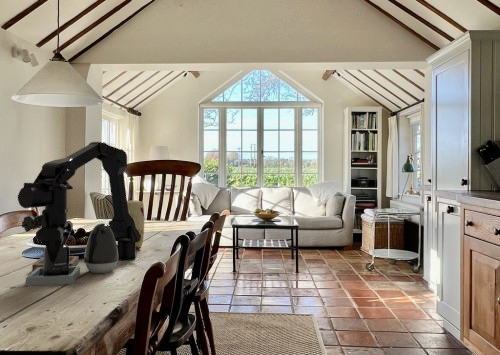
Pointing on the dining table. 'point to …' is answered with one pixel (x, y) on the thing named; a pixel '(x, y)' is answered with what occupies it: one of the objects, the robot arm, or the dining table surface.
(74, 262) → the walnut collar
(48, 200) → the robot arm
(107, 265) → the grey egg shaped device
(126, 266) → the dining table surface
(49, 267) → the supplement bottle
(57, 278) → the slate tray
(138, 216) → the food model
